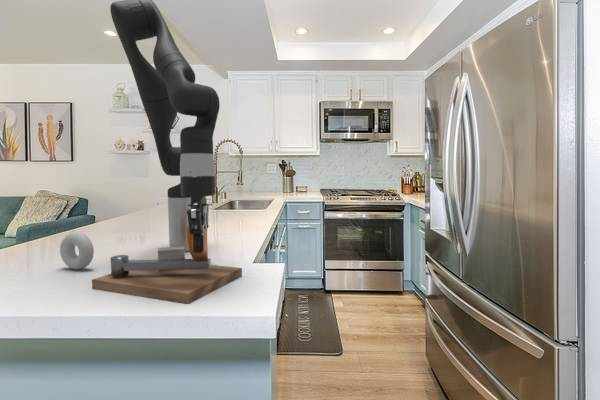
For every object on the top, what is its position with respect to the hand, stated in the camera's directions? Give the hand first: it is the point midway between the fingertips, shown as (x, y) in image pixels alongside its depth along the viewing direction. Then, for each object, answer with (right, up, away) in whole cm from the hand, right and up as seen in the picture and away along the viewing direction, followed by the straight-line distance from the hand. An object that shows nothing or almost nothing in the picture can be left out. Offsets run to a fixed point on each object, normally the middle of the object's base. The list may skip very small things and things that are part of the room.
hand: (200, 250), depth 84 cm
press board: (-7, -8, +2) cm, 11 cm away
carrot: (-6, -6, +19) cm, 20 cm away
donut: (-36, -7, +14) cm, 39 cm away
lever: (-9, -5, 0) cm, 10 cm away
